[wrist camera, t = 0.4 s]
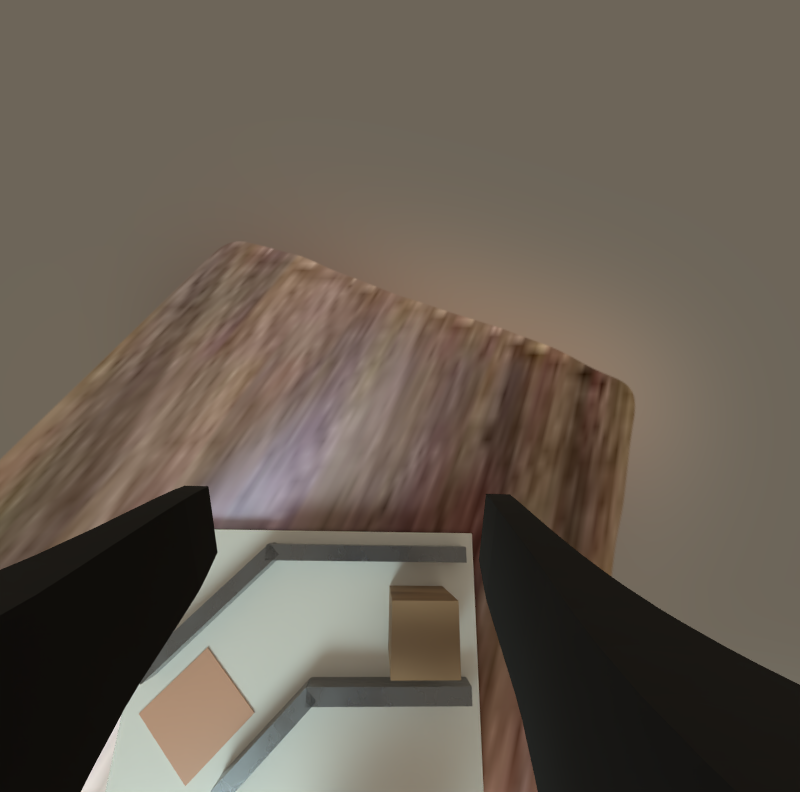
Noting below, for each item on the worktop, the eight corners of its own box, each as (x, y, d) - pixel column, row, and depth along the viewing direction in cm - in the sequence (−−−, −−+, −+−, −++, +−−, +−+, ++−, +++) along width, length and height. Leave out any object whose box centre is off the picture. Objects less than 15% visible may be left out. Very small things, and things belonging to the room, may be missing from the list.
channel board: (481, 788, 28) (484, 795, 27) (109, 794, 27) (102, 801, 26) (470, 533, 34) (471, 533, 33) (165, 528, 33) (160, 528, 32)
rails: (469, 784, 28) (476, 803, 26) (121, 789, 27) (101, 809, 25) (460, 544, 33) (466, 545, 31) (171, 540, 32) (158, 541, 30)
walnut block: (443, 647, 31) (461, 680, 24) (388, 647, 30) (390, 680, 24) (442, 585, 32) (458, 601, 25) (389, 585, 32) (392, 600, 25)
